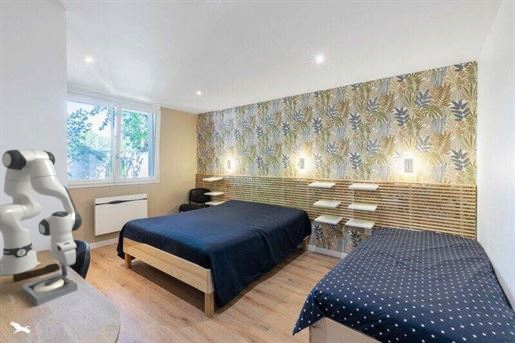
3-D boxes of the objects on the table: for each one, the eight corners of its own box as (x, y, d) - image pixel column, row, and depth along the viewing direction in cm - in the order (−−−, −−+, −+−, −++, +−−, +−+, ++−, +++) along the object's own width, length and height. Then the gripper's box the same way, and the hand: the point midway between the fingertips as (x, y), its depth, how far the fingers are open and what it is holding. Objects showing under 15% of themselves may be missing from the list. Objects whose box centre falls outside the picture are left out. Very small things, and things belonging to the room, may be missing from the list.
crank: (27, 293, 114) (26, 277, 114) (57, 278, 128) (57, 264, 128) (47, 295, 112) (46, 279, 112) (75, 280, 126) (75, 265, 126)
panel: (21, 291, 118) (20, 285, 118) (60, 277, 131) (60, 272, 131) (37, 305, 106) (36, 298, 106) (78, 289, 120) (78, 283, 119)
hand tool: (13, 283, 126) (12, 274, 126) (13, 280, 129) (13, 272, 129) (60, 271, 139) (59, 263, 139) (59, 269, 142) (59, 261, 142)
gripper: (47, 241, 130) (48, 266, 131) (62, 249, 119) (64, 277, 119) (61, 238, 135) (62, 262, 136) (77, 245, 124) (79, 271, 125)
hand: (63, 269), depth 128 cm, fingers closed
